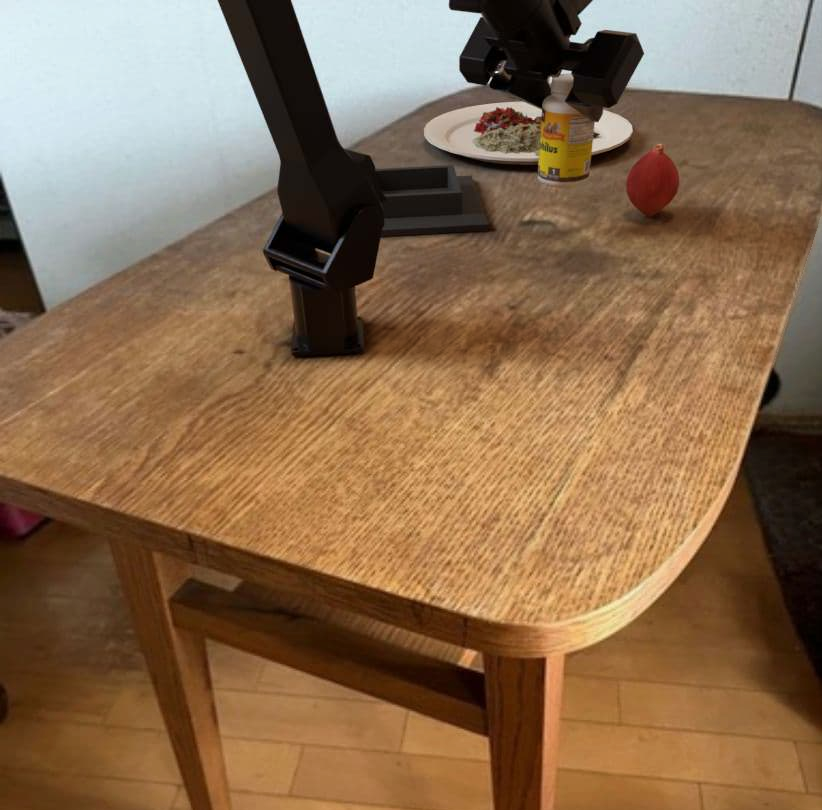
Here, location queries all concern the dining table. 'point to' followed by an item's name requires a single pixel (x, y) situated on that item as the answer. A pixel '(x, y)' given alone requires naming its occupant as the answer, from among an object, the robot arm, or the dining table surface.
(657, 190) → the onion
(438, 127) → the plated food
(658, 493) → the dining table surface
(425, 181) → the dock pad
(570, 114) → the supplement bottle
